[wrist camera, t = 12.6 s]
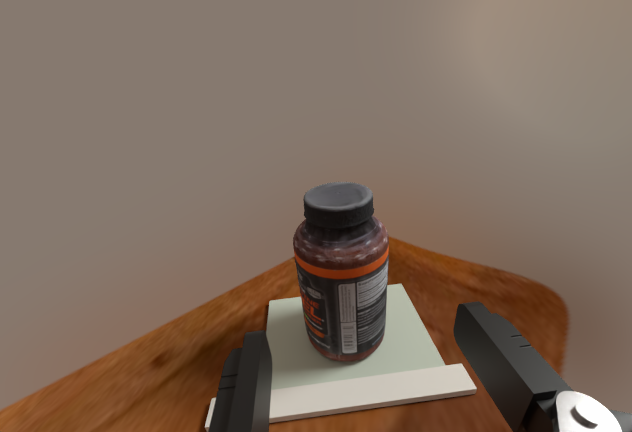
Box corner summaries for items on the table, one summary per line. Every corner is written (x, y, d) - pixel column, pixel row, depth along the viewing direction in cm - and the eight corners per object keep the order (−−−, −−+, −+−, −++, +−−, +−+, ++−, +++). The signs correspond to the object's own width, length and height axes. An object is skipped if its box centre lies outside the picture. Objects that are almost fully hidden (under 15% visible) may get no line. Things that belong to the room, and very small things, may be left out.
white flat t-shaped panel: (207, 432, 16) (204, 427, 15) (237, 308, 24) (235, 304, 24) (475, 393, 16) (476, 388, 16) (411, 285, 25) (412, 281, 24)
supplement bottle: (294, 320, 22) (270, 190, 17) (354, 291, 24) (350, 169, 19) (331, 383, 17) (315, 228, 12) (403, 340, 19) (414, 194, 14)
